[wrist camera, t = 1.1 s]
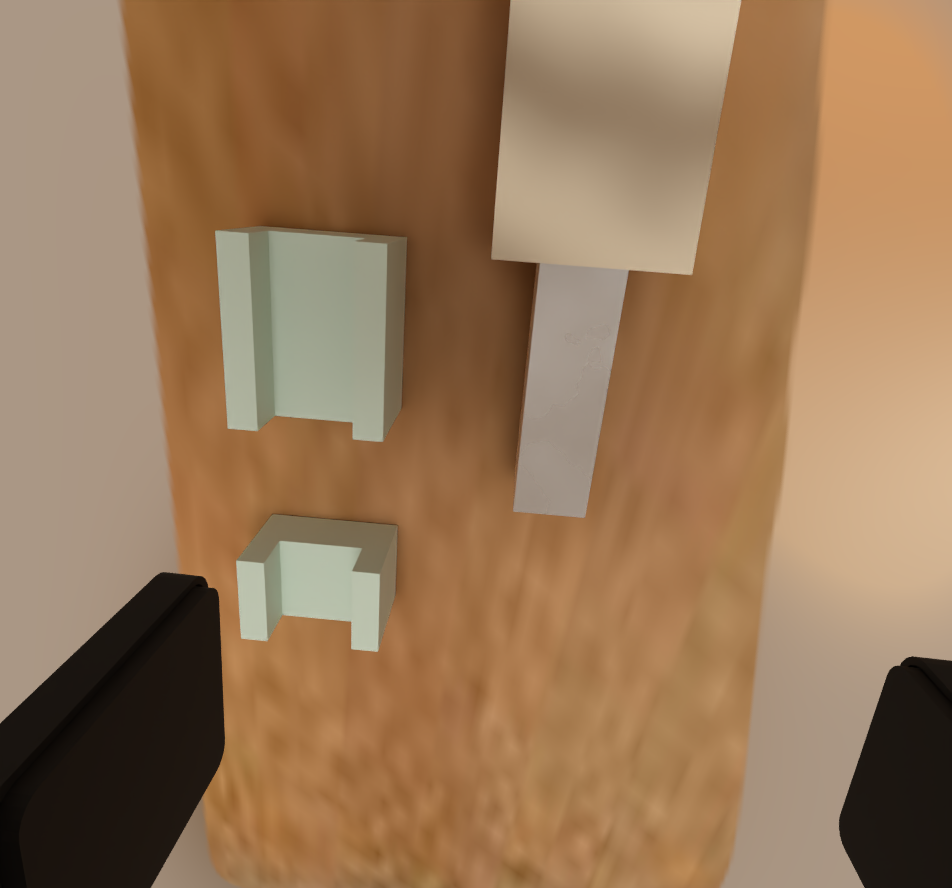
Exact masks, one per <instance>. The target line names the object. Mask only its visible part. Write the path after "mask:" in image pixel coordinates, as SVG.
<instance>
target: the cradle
mask: <svg viewBox="0 0 952 888" xmlns="http://www.w3.org/2000/svg"><path fill="white" fill-rule="evenodd" d="M215 234H216V250H217V266H218V282H219V297H220V313H221V329H222V344H223V360H224V376H225V392H226V407H227V423H228V429H239V430H251V431H258V430H259V429H261V428H262V427H263V426H264V425H265V424H266V423H267V422H268V421H270V420H271V419H272V418H273V417H274V416H284V417H296V418H307V419H319V420H330V421H342V422H353V439H355V440H366V441H378V442H383V441H384V439H385V437H386V435H387V434H388V432H389V430H390V428H391V426H392V425H393V423H394V421H395V419H396V417H397V416H398V414H399V412H400V410H401V408H402V378H403V348H404V317H405V287H406V256H407V237H397V236H384V235H371V234H358V233H345V232H332V231H319V230H306V229H293V228H280V227H268V226H256V227H246V228H236V229H226V230H216V231H215ZM397 532H398V525H388V524H377V523H366V522H355V521H343V520H332V519H321V518H310V517H299V516H288V515H277V514H272V515H271V517H270V518H269V519H268V521H267V522H266V523H265V524H264V526H263V527H262V528H261V530H260V531H259V532H258V533H257V535H256V536H255V537H254V539H253V540H252V541H251V542H250V544H249V545H248V546H247V548H246V549H245V550H244V551H243V553H242V554H241V555H240V557H239V558H238V559H237V560H236V565H237V580H238V596H239V612H240V628H241V639H251V640H262V641H268V639H269V638H270V636H271V634H272V632H273V631H274V629H275V627H276V625H277V623H278V622H279V620H280V618H281V616H282V615H288V616H299V617H309V618H320V619H330V620H341V621H351V622H352V639H351V649H355V650H366V651H376V652H378V650H379V647H380V644H381V641H382V637H383V634H384V631H385V628H386V624H387V621H388V618H389V615H390V611H391V608H392V605H393V602H394V598H395V593H396V562H397Z"/></svg>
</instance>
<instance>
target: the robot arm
mask: <svg viewBox="0 0 952 888" xmlns="http://www.w3.org/2000/svg"><path fill="white" fill-rule="evenodd" d="M224 746H225V731H224V708H223V684H222V660H221V636H220V612H219V596H218V592H217V590H216V589H214V588H208V584H207V582H206V579H205V578H203V577H202V576H194V575H185V574H176V573H166V572H163V573H160V574H158V575H157V576H155V577H154V578H153V579H152V580H151V581H150V582H149V583H148V584H147V585H146V586H145V587H144V588H143V589H142V590H141V591H139V593H137V594H136V595H135V596H134V597H133V598H132V599H131V600H130V601H129V602H128V603H127V604H126V605H125V606H124V607H123V608H122V609H120V611H118V612H117V613H116V614H115V615H114V616H113V617H112V618H111V619H110V620H109V621H108V622H107V623H106V624H105V625H104V626H103V627H102V628H100V629H99V630H98V631H97V632H96V633H95V634H94V635H93V636H92V637H91V638H90V639H89V640H88V641H87V642H86V643H85V644H84V645H82V646H81V647H80V649H78V650H77V651H76V652H75V653H74V654H73V655H72V656H71V657H70V658H69V659H68V660H67V661H66V662H65V663H63V664H62V665H61V666H60V667H59V668H58V669H57V670H56V671H55V672H54V673H53V674H52V675H51V676H50V677H49V678H48V679H47V680H46V681H44V682H43V683H42V685H40V686H39V687H38V688H37V689H36V690H35V691H34V692H33V693H32V694H31V695H30V696H29V697H28V698H27V699H25V701H23V702H22V703H21V704H20V705H19V706H18V707H17V708H16V709H15V710H14V711H13V712H12V713H11V714H10V715H9V716H8V717H6V718H5V719H4V720H3V721H2V722H1V723H0V888H151V886H152V884H153V883H154V881H155V879H156V877H157V876H158V874H159V872H160V870H161V868H162V867H163V865H164V863H165V862H166V859H167V858H168V856H169V854H170V853H171V851H172V849H173V847H174V846H175V844H176V842H177V840H178V839H179V837H180V835H181V833H182V831H183V830H184V828H185V826H186V824H187V823H188V821H189V819H190V817H191V816H192V814H193V812H194V810H195V808H196V806H197V805H198V803H199V801H200V800H201V798H202V796H203V794H204V793H205V791H206V789H207V787H208V785H209V784H210V782H211V780H212V778H213V777H214V775H215V773H216V771H217V769H218V767H219V765H220V762H221V759H222V756H223V752H224ZM839 831H840V837H841V841H842V844H843V846H844V848H845V850H846V853H847V854H848V856H849V858H850V860H851V862H852V864H853V866H854V868H855V870H856V872H857V874H858V876H859V878H860V880H861V882H862V884H863V885H864V887H865V888H952V661H947V660H939V659H930V658H920V657H913V656H912V657H908V658H906V659H905V660H904V661H903V662H902V663H901V665H900V666H894V667H893V668H892V669H890V671H889V673H888V675H887V677H886V680H885V683H884V686H883V690H882V692H881V695H880V698H879V701H878V704H877V707H876V710H875V713H874V716H873V719H872V722H871V725H870V728H869V731H868V734H867V737H866V740H865V743H864V746H863V749H862V752H861V755H860V758H859V761H858V764H857V767H856V770H855V773H854V775H853V778H852V781H851V784H850V787H849V790H848V793H847V796H846V799H845V802H844V805H843V808H842V811H841V814H840V819H839Z"/></svg>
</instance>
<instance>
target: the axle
mask: <svg viewBox="0 0 952 888" xmlns="http://www.w3.org/2000/svg"><path fill="white" fill-rule="evenodd" d="M628 272H629V270H622V269H609V268H597V267H584V266H571V265H558V264H545V263H537V264H536V274H535V283H534V293H533V302H532V312H531V321H530V331H529V340H528V350H527V359H526V369H525V378H524V388H523V397H522V407H521V416H520V426H519V435H518V445H517V454H516V464H515V474H514V502H513V511H514V512H525V513H537V514H548V515H559V516H570V517H581V518H585V515H586V509H587V504H588V498H589V492H590V487H591V481H592V475H593V470H594V464H595V458H596V453H597V447H598V441H599V436H600V430H601V425H602V419H603V413H604V408H605V402H606V396H607V391H608V385H609V379H610V374H611V368H612V362H613V357H614V351H615V345H616V340H617V334H618V328H619V323H620V317H621V311H622V306H623V300H624V295H625V289H626V283H627V278H628Z"/></svg>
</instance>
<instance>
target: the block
mask: <svg viewBox="0 0 952 888" xmlns="http://www.w3.org/2000/svg"><path fill="white" fill-rule="evenodd" d="M740 4H741V0H511V3H510V16H509V29H508V42H507V55H506V69H505V82H504V95H503V108H502V122H501V135H500V148H499V161H498V174H497V188H496V201H495V214H494V227H493V240H492V254H491V259H494V260H507V261H520V262H532V263H545V264H558V265H571V266H584V267H597V268H609V269H622V270H635V271H648V272H661V273H674V274H687V275H692V272H693V266H694V261H695V255H696V250H697V244H698V239H699V233H700V227H701V222H702V216H703V211H704V205H705V200H706V194H707V188H708V183H709V177H710V172H711V166H712V160H713V155H714V149H715V144H716V138H717V133H718V127H719V121H720V116H721V110H722V105H723V99H724V94H725V88H726V82H727V77H728V71H729V66H730V60H731V54H732V49H733V43H734V38H735V32H736V27H737V21H738V15H739V10H740Z"/></svg>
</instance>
